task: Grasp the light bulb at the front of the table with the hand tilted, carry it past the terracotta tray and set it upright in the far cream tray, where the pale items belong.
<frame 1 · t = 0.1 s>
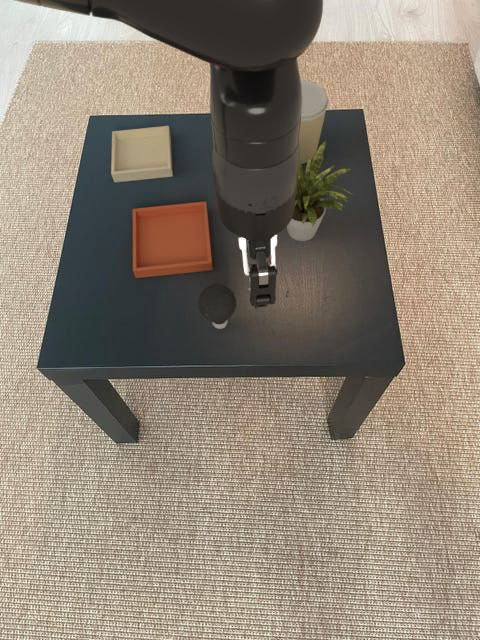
hand: (256, 272, 58), 20 cm above the table, tool pointing down, fingers open, 8 cm apart
terracotta tray: (172, 242, 85), on the table
house plant: (297, 235, 85), on the table
coffee cup: (296, 150, 94), on the table
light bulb: (220, 324, 77), on the table
cream tray: (143, 158, 94), on the table
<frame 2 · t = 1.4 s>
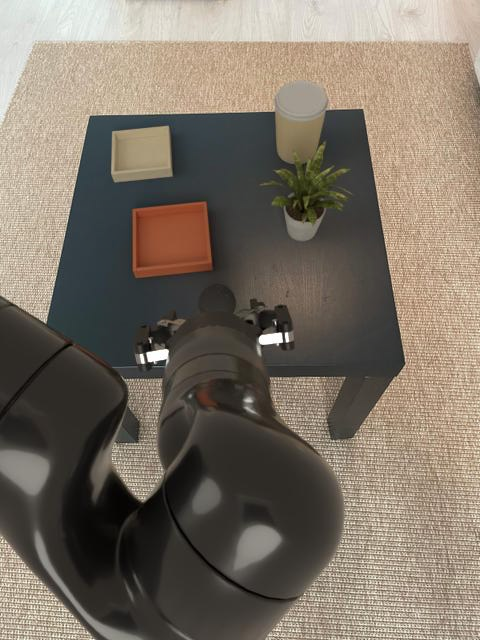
hand: (213, 313, 50), 25 cm above the table, tool tilted 45°, fingers open, 8 cm apart
nothing on the table moved.
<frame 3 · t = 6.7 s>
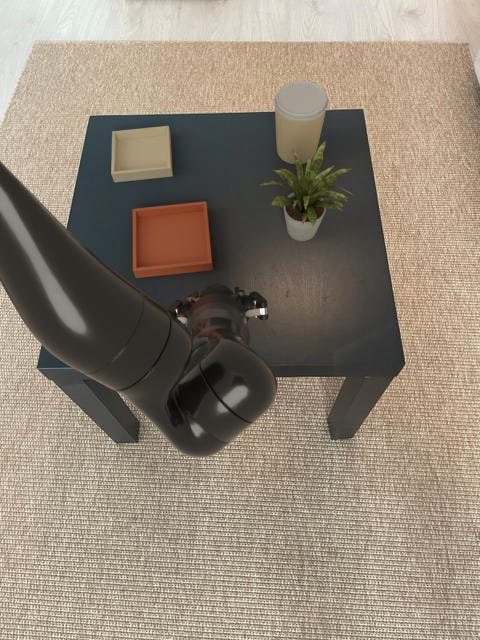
hand: (216, 295, 72), 6 cm above the table, tool tilted 45°, fingers closed on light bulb, 5 cm apart
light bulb: (220, 324, 77), on the table, touching gripper
everything else where it was.
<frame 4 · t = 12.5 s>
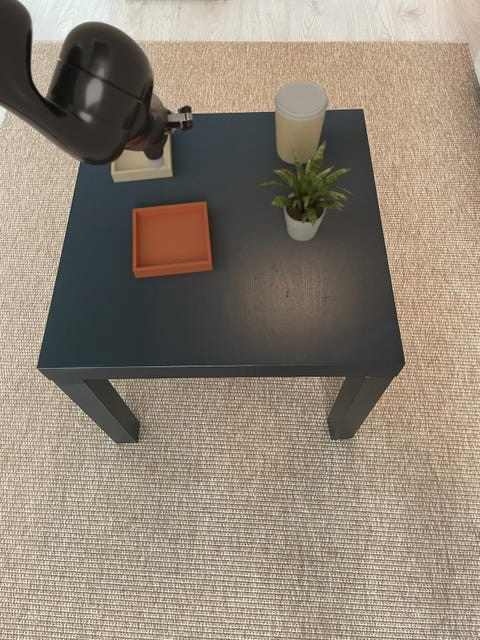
hand: (149, 127, 71), 19 cm above the table, tool tilted 45°, fingers closed on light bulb, 5 cm apart
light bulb: (157, 167, 76), point 12 cm above the table, touching gripper
everything else where it was.
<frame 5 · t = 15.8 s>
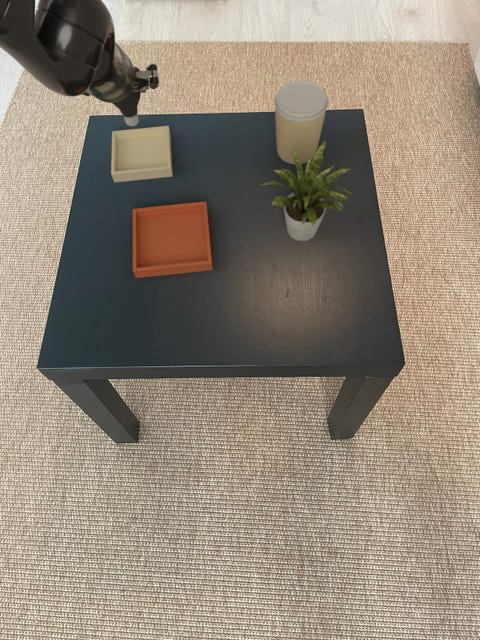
hand: (124, 87, 82), 14 cm above the table, tool tilted 45°, fingers closed on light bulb, 5 cm apart
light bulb: (133, 125, 87), point 8 cm above the table, touching gripper
everything else where it was.
when the fingers open (7 cm above the table, at t = 18.5 s): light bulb stays where it is, resting on cream tray.
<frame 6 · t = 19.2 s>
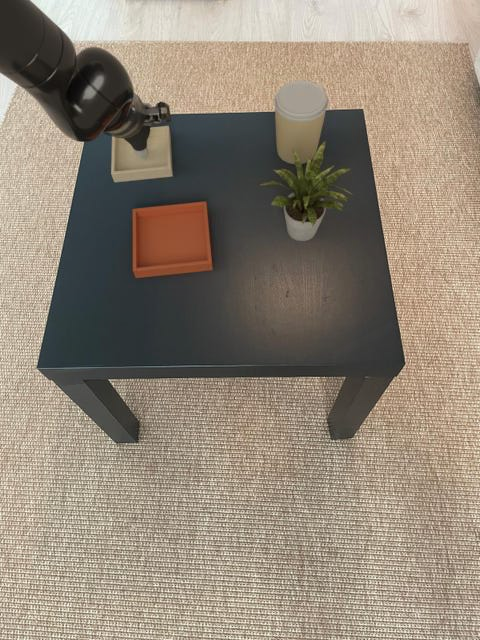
hand: (133, 119, 87), 8 cm above the table, tool tilted 45°, fingers open, 8 cm apart
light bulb: (143, 157, 94), resting on cream tray
everything else where it was.
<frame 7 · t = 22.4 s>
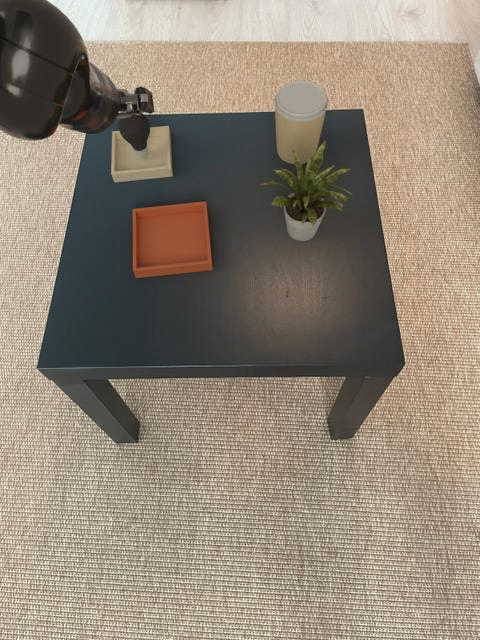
hand: (108, 111, 70), 21 cm above the table, tool tilted 45°, fingers open, 8 cm apart
nothing on the table moved.
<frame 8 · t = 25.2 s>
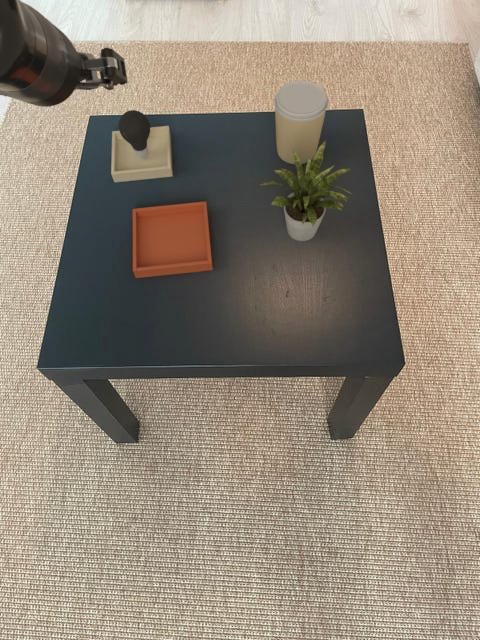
hand: (74, 84, 58), 31 cm above the table, tool tilted 45°, fingers open, 8 cm apart
nothing on the table moved.
at the end: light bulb inside the target area in the cream tray (0.1 cm from its centre), point 0.3 cm above the cream tray's base; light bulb touching cream tray; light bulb tilted 0° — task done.
